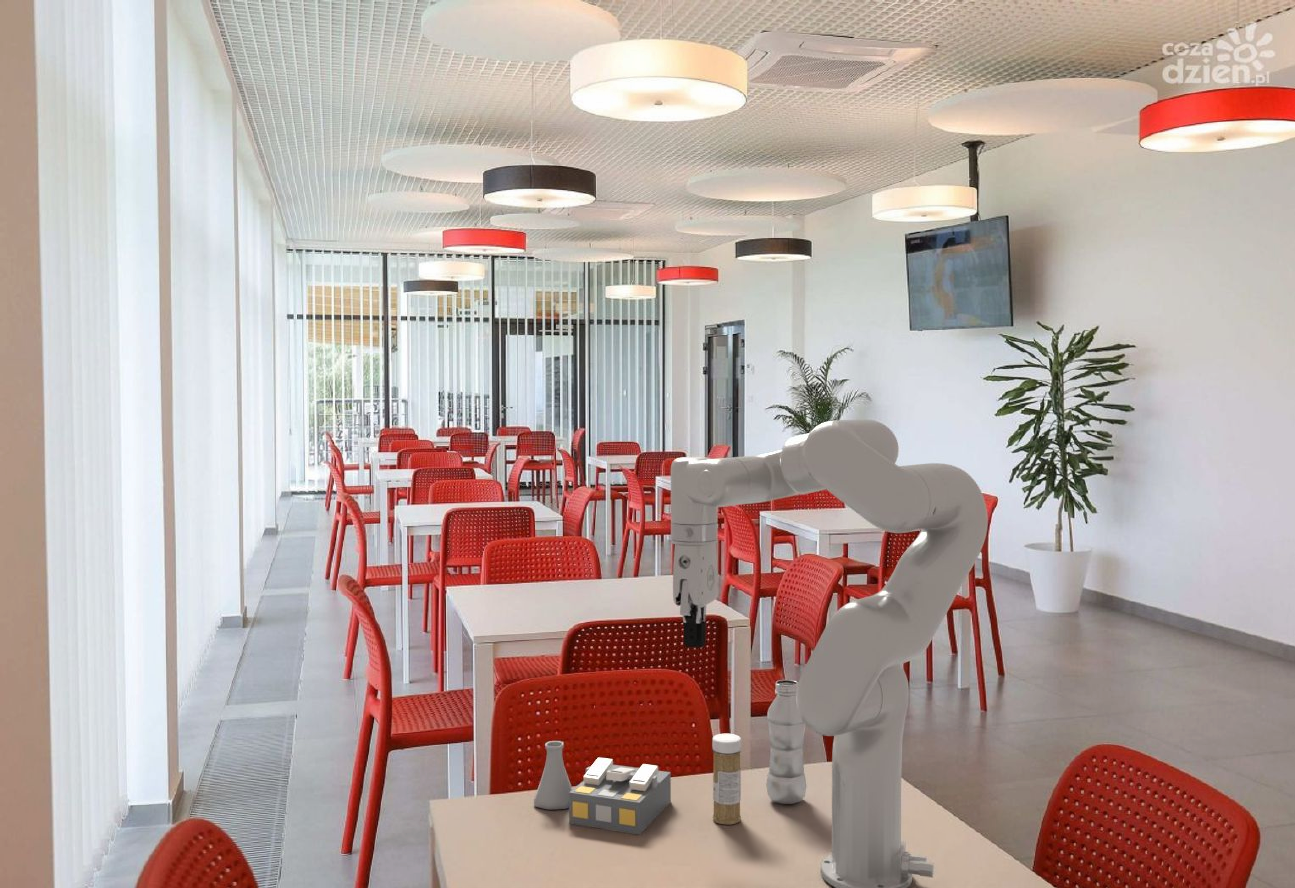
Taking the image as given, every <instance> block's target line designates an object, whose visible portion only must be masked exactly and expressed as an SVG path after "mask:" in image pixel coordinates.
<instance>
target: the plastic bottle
mask: <svg viewBox="0 0 1295 888" xmlns="http://www.w3.org/2000/svg"><path fill="white" fill-rule="evenodd" d="M798 683H799V681H798V682H797V680H791V679H780V680H777V681H776V682H775V690H774V694H775V695H776V697H775V698H774V700H772V702H771V704H770V706H769V707H768V710H767V725H768V729H769V743H770V744H769V745H770V754H769V755H770V758H769V768H768V774H767V778H766V790H767V791H766V792H767V796H768V797H769V798H770V800H771V801H773V802H774V803H778V804H782V805H792V804H793V805H794V804H797V803H800V802H802V800H803V799H804V798H805V796H806V792H807V780H806V774H805V766H804V740H805V739H804V738H805V731H806V727H807V726H806V724H805V723H804V722H803V720H802V719H801V717H800V715H799V712H798V708H797V703H796V692H797V686H798Z"/></svg>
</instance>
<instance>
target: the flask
mask: <svg viewBox="0 0 1295 888" xmlns="http://www.w3.org/2000/svg"><path fill="white" fill-rule="evenodd" d="M564 743H565V742H564V741H561V740H552V741H551V740H550V741H547V742H545V744H544V746H545V747H544V748H545V750H546V760H545V765H544V768H543V772H542V776H541V778H540V781H539V785H538V787H537V790H536V792H535V796H534V799H533V802H534V803H533V804H534V805H533V806H534V807H536V808H540V809H543V810H567V809H569V792H570V791H571V790H573V789H574V788H573V786H572V784H571V782H570V780H569V779H570V778H569V777H568V773H567V770H566V767H565V765H564V760H563V759H564V758H563V749H564V748H565V745H564Z"/></svg>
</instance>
